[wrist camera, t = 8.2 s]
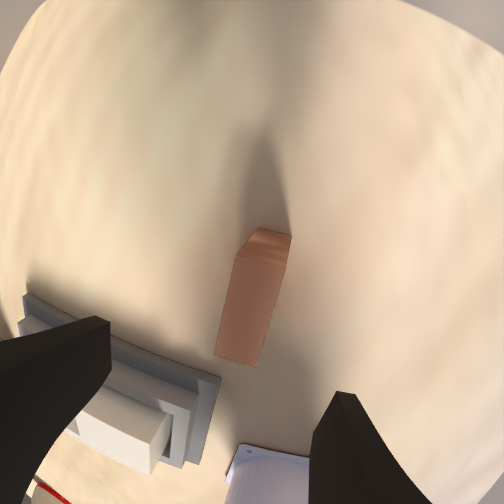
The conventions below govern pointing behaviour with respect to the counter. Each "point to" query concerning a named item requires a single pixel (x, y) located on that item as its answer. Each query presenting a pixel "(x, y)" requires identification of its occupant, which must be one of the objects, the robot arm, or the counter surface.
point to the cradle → (148, 384)
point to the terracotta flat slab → (252, 296)
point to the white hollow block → (123, 429)
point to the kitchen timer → (46, 496)
